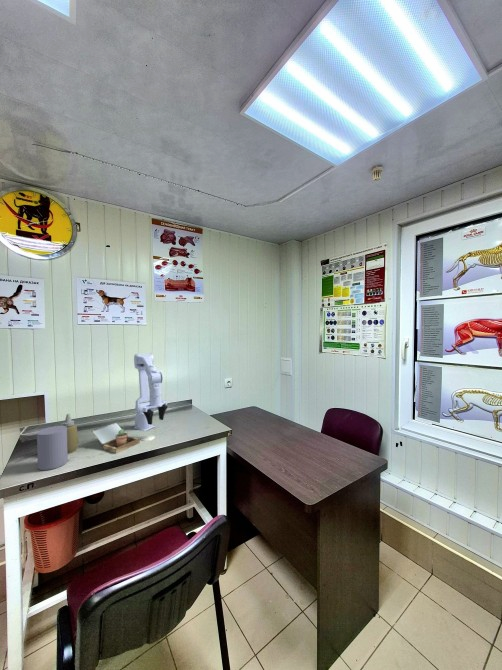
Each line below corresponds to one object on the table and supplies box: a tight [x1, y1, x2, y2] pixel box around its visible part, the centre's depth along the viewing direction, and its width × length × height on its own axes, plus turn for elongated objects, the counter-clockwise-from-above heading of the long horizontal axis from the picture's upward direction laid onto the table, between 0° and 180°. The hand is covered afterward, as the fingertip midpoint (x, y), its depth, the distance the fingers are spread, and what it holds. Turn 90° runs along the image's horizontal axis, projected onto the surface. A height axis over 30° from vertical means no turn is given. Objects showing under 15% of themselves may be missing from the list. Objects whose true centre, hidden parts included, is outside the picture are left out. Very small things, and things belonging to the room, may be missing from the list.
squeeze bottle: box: [61, 413, 80, 454], centre depth 126 cm, size 8×8×18 cm
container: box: [36, 425, 69, 471], centre depth 114 cm, size 10×10×15 cm
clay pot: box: [115, 428, 129, 448], centre depth 131 cm, size 5×5×8 cm
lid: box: [91, 422, 122, 446], centre depth 135 cm, size 10×13×1 cm
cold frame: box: [102, 428, 141, 454], centre depth 132 cm, size 14×14×5 cm
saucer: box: [140, 434, 156, 442], centre depth 140 cm, size 7×7×1 cm
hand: (155, 421), depth 138 cm, fingers open, 7 cm apart
